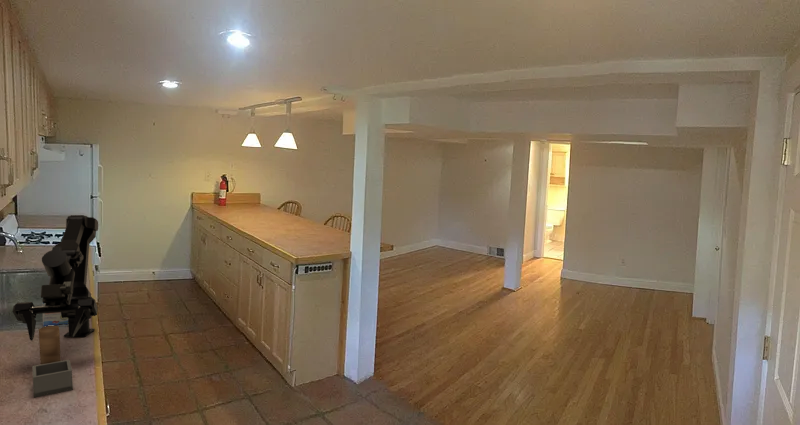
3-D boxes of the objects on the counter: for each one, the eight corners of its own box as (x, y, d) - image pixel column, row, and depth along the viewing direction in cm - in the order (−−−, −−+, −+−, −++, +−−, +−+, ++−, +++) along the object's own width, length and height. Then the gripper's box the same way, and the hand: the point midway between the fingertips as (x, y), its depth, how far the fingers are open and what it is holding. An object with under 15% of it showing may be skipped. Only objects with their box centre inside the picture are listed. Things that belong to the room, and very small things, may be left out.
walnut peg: (47, 373, 139) (45, 325, 137) (64, 373, 139) (62, 325, 137) (37, 380, 134) (34, 331, 133) (55, 380, 135) (53, 331, 133)
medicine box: (42, 327, 172) (41, 301, 171) (44, 322, 176) (43, 297, 175) (71, 324, 176) (69, 298, 175) (72, 320, 180) (71, 295, 179)
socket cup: (33, 385, 132) (32, 366, 131) (70, 377, 136) (69, 359, 136) (33, 397, 125) (32, 377, 125) (72, 389, 130) (71, 370, 129)
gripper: (12, 273, 137) (-1, 327, 128) (94, 269, 144) (87, 320, 135) (24, 294, 146) (12, 347, 137) (100, 290, 152) (94, 340, 143)
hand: (51, 338), depth 138 cm, fingers open, 9 cm apart
